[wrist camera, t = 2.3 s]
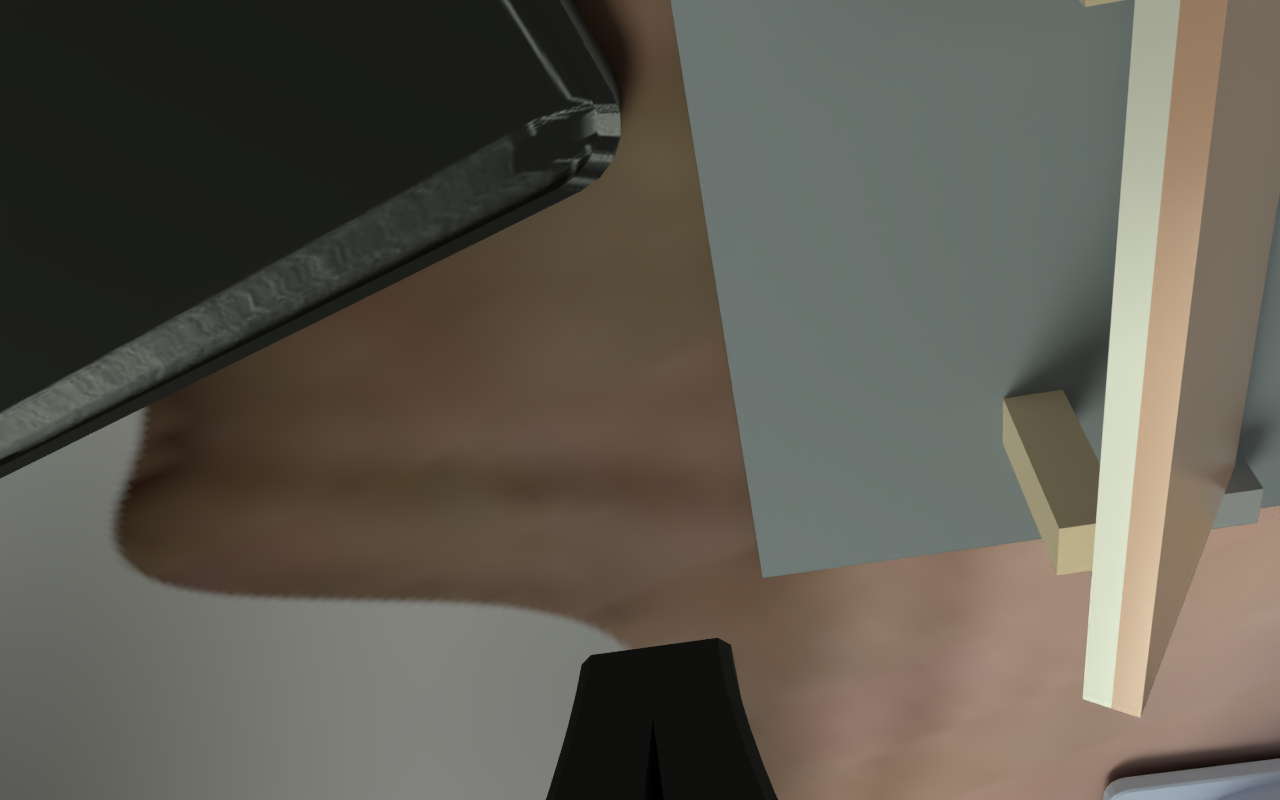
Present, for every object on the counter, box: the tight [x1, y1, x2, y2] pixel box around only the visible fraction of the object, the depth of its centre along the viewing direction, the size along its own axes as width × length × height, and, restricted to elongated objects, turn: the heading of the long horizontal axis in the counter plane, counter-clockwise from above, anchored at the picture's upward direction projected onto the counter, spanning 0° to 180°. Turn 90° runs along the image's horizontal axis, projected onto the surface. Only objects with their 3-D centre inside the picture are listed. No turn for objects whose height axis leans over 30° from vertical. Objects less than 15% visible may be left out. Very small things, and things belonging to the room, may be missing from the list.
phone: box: [0, 0, 621, 478], centre depth 18 cm, size 8×1×15 cm
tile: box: [1083, 0, 1280, 718], centre depth 16 cm, size 11×6×1 cm
